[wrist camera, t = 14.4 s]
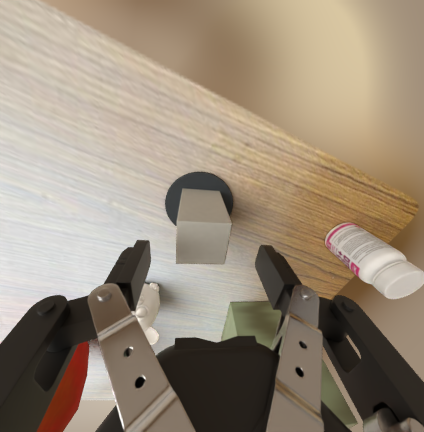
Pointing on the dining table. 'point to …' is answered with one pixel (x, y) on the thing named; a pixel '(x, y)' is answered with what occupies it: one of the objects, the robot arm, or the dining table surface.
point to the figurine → (148, 310)
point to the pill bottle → (374, 261)
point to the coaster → (195, 182)
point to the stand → (264, 332)
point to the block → (202, 228)
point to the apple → (67, 393)
